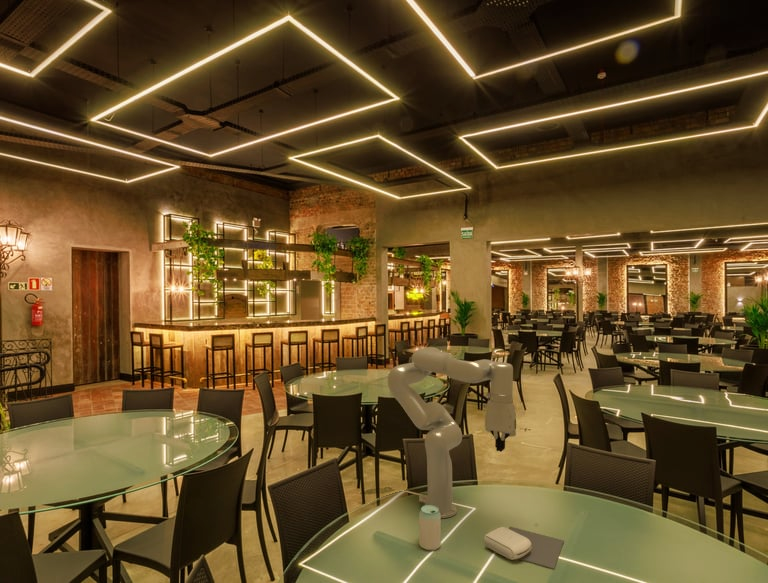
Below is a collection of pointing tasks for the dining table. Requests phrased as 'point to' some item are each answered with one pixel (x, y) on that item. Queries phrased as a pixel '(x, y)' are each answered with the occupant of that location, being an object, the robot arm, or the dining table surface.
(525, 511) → the dining table surface
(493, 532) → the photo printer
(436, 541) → the can
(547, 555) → the rubber mat
